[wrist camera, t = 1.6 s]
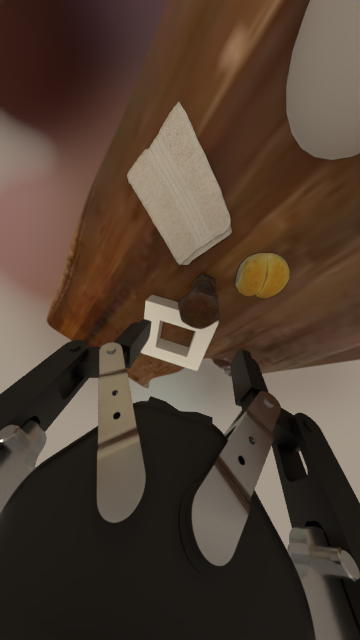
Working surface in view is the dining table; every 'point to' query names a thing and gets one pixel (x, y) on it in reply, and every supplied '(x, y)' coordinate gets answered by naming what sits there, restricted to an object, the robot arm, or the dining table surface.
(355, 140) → the cylinder
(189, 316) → the bolt
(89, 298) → the dining table surface
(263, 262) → the bread roll
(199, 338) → the collar block
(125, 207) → the dining table surface
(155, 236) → the dining table surface
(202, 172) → the washcloth
